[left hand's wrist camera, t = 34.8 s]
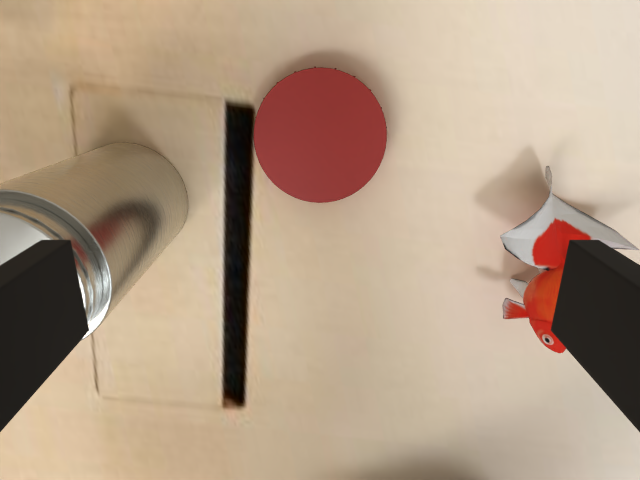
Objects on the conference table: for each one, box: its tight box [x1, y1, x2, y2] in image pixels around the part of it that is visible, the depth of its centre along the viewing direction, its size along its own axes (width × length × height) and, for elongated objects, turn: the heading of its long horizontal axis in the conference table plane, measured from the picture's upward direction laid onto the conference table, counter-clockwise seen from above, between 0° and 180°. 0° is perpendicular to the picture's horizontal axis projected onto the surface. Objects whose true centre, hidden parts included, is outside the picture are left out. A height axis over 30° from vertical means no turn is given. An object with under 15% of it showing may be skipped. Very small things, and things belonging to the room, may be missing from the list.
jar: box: [0, 143, 188, 340], centre depth 33 cm, size 10×10×18 cm
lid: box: [254, 67, 387, 203], centre depth 38 cm, size 11×11×2 cm
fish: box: [500, 166, 639, 353], centre depth 39 cm, size 11×16×10 cm
